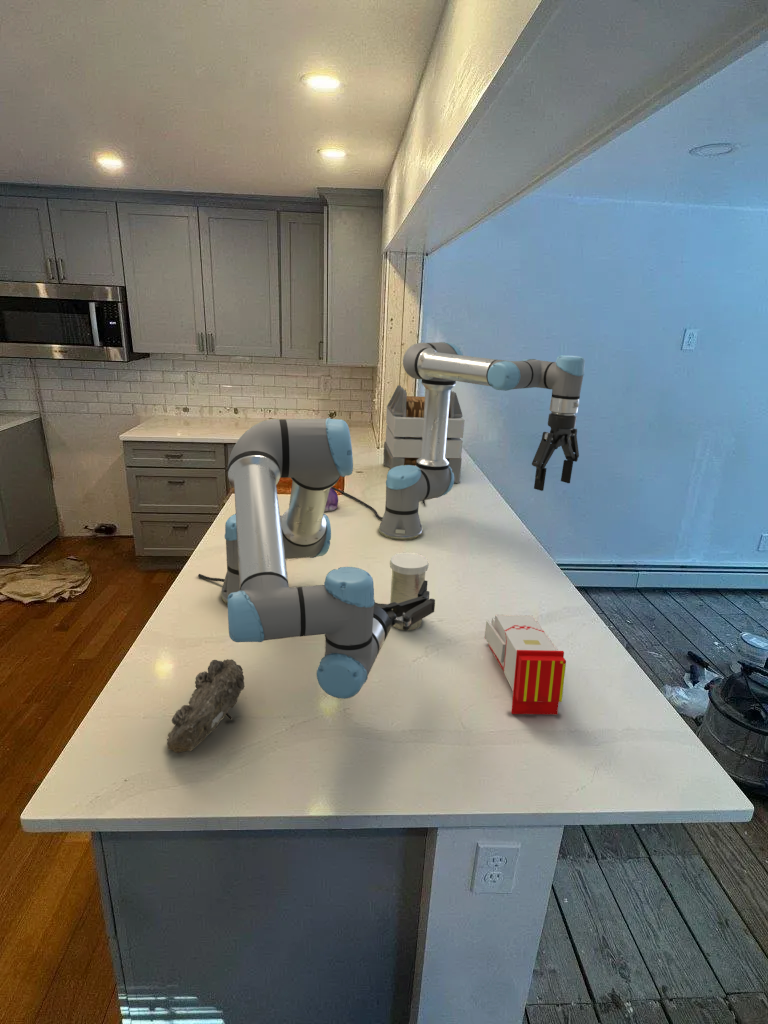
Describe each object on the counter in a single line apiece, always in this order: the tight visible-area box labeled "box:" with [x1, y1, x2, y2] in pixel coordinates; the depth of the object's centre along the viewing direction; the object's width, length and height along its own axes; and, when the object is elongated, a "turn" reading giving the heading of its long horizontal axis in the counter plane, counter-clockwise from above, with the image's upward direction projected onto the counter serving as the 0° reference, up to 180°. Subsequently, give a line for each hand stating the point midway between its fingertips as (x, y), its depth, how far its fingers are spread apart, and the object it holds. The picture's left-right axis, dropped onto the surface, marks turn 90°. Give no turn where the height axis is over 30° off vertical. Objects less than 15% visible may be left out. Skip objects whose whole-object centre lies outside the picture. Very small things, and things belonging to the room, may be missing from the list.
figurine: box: [324, 486, 339, 513], centre depth 219 cm, size 9×10×15 cm
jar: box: [389, 569, 426, 631], centre depth 141 cm, size 8×8×17 cm
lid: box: [389, 551, 430, 575], centre depth 138 cm, size 9×9×2 cm
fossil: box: [166, 658, 245, 754], centre depth 106 cm, size 22×10×15 cm
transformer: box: [383, 384, 465, 484], centre depth 268 cm, size 34×33×41 cm
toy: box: [484, 614, 567, 716], centre depth 124 cm, size 12×13×30 cm
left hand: (393, 581), depth 120 cm, fingers open, 13 cm apart
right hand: (552, 485), depth 166 cm, fingers open, 13 cm apart
